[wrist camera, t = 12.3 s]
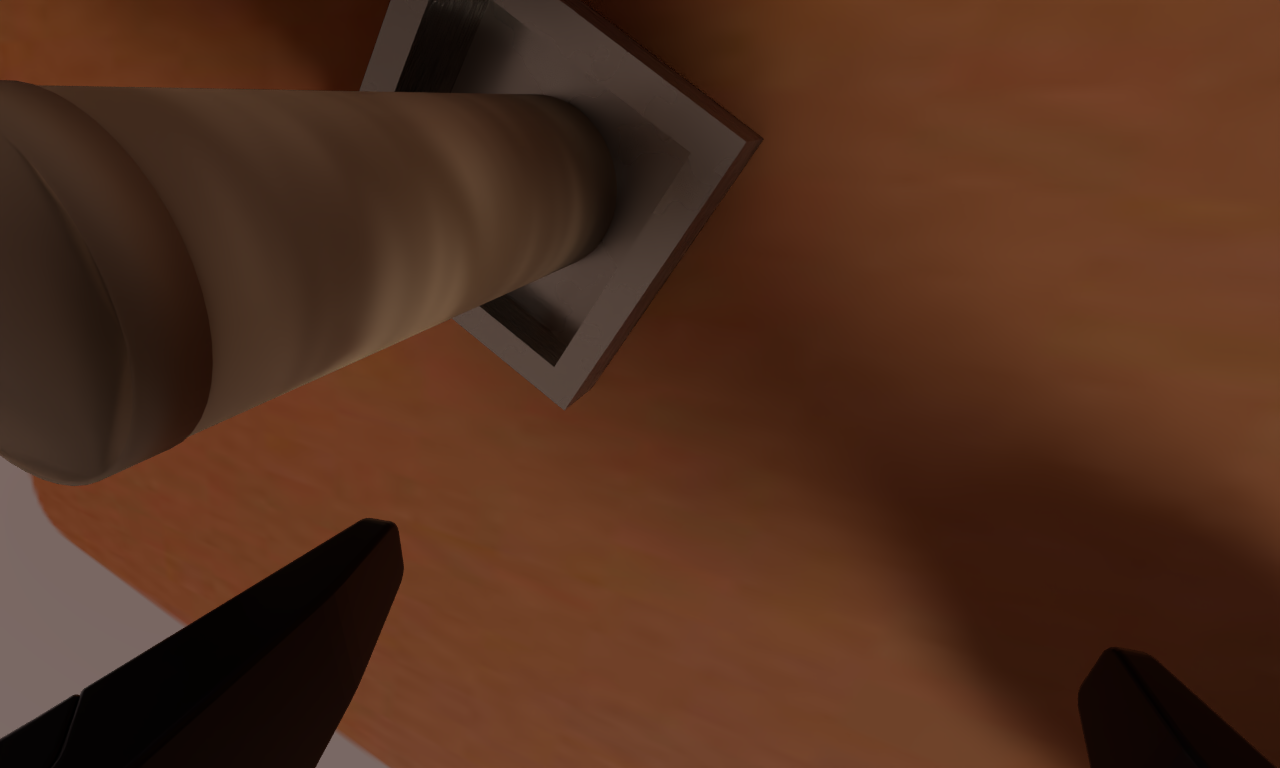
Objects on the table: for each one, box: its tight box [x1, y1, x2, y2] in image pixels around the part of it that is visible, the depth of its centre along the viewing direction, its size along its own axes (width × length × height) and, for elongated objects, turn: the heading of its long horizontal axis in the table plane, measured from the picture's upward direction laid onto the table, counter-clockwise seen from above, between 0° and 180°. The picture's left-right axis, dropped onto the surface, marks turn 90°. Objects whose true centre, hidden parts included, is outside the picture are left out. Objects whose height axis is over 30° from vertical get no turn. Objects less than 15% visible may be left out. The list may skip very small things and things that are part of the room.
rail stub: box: [0, 80, 617, 486], centre depth 15 cm, size 5×5×14 cm
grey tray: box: [359, 0, 763, 410], centre depth 20 cm, size 10×10×3 cm
